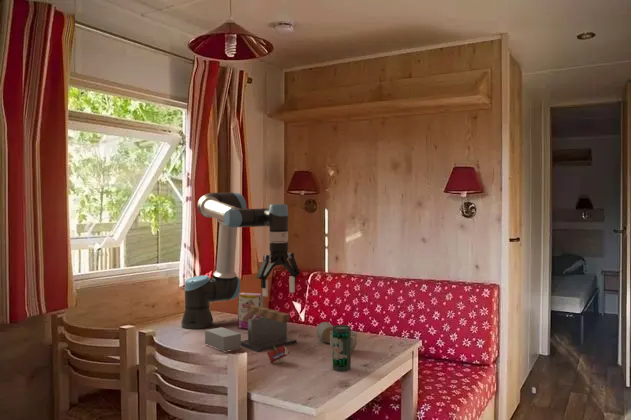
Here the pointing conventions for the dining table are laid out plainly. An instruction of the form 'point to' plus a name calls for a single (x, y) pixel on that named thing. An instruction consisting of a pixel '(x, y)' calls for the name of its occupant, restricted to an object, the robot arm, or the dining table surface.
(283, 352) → the geometric puzzle
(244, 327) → the candy bar box
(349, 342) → the can
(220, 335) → the grey stand
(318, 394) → the dining table surface
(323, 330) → the ceramic mug
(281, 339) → the metal ridge
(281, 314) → the walnut bar
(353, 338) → the teacup
